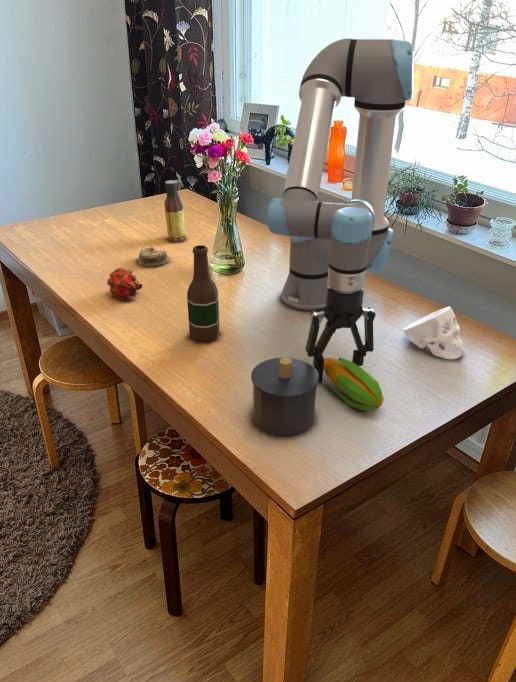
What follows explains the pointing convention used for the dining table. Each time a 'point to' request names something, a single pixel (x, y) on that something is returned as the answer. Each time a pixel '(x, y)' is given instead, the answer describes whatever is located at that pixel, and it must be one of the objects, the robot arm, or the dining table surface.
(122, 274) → the dragon fruit
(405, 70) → the robot arm
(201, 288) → the beer bottle
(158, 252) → the grey rough lump
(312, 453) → the dining table surface
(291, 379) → the pot lid
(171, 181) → the sauce bottle
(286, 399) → the pot
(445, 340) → the skull bowl
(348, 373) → the corn
